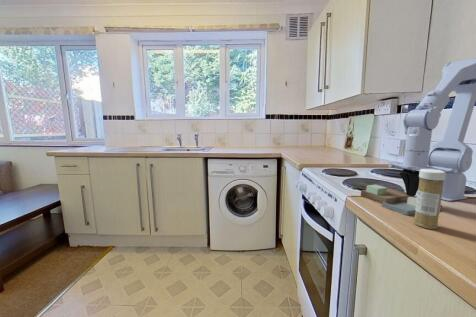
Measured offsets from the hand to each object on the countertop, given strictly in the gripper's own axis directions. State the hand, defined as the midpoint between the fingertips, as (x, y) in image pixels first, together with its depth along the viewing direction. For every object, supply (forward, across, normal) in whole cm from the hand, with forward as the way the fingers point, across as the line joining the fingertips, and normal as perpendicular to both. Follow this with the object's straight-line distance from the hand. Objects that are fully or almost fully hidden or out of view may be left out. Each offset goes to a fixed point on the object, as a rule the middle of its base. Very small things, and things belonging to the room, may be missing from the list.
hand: (410, 195), depth 68 cm
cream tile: (+2, +2, 0) cm, 3 cm away
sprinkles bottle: (+3, +12, -12) cm, 17 cm away
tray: (+3, +3, -4) cm, 5 cm away
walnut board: (+3, -6, -2) cm, 7 cm away
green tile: (+1, -7, -6) cm, 9 cm away
